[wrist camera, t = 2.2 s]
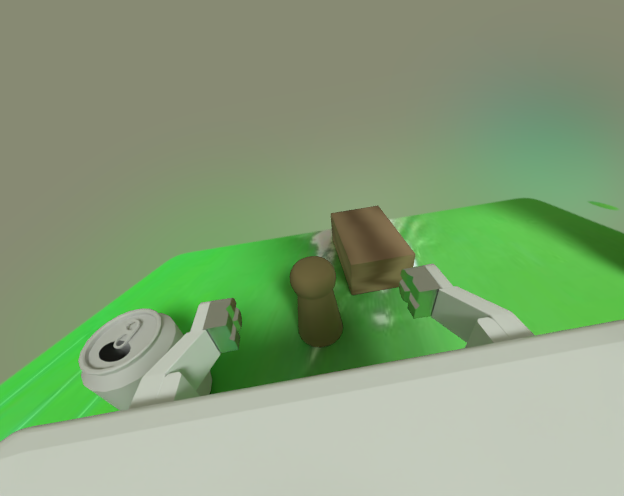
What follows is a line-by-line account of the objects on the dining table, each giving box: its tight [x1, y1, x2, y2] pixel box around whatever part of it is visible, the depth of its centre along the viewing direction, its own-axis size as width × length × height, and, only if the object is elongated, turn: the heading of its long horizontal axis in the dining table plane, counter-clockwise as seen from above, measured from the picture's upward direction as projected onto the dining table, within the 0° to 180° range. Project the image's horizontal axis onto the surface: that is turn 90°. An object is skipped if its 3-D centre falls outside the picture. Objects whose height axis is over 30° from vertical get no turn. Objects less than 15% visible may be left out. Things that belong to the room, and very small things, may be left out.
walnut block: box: [331, 206, 415, 295], centre depth 42 cm, size 9×15×6 cm, turn 7°
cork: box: [290, 256, 343, 347], centre depth 30 cm, size 6×6×11 cm
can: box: [78, 309, 212, 411], centre depth 24 cm, size 8×8×12 cm
